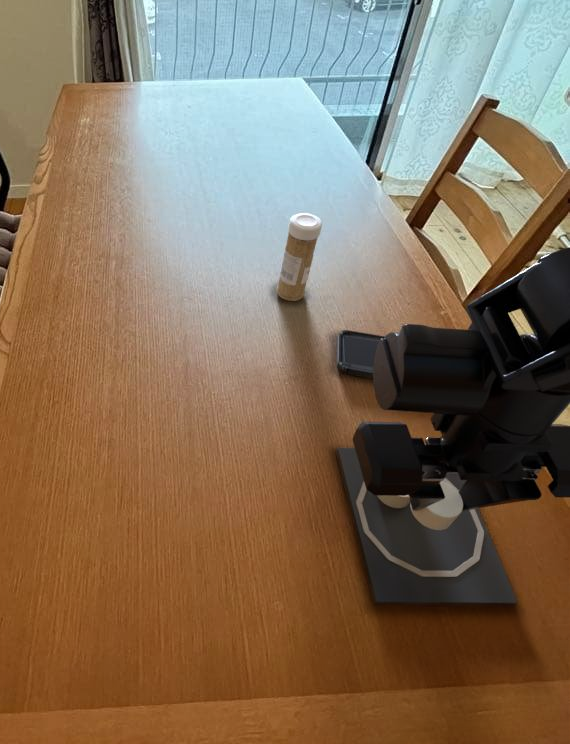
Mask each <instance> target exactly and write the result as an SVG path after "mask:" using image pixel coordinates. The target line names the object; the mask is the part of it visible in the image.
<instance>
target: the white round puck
mask: <svg viewBox="0 0 570 744" xmlns="http://www.w3.org/2000/svg"><path fill="white" fill-rule="evenodd" d="M377 496H378V498H379V499H380V500H381V501H382V502H383V503H384V504H386V505H388V506H390V507H393V508H403V507H406V506H407V505H408V504H409V503H410V496H409V495H406V496H387V495H377Z"/></svg>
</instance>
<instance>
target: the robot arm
mask: <svg viewBox="0 0 570 744" xmlns="http://www.w3.org/2000/svg"><path fill="white" fill-rule="evenodd" d="M465 310H466V312H467V315H468V318H469V319H470V321H471V323H470V324H469V326H468V328H467V329H460V328H446V327H445V328H443V327H432V326H428V325H424V324H414V323H405V324H402V326H401V328H400V330H399V332H395V331H393V332H392V331H391V332H390V331H389V333H387V334H385V335H384V336H385V338H384V339H380V342H379V344H378V347H377V350H376V354H375V359H374V367H373V379H372V384H373V392H374V396H375V397H374V398H375V400H376V403H377V405H378V406H379V408H380V409H382V410H383V411H395V412H409V413H410V412H411V413H424V414H432V416H431V418H430V422H431V425H432V428H433V430H434V431H435V432H440V434H441V436H440V437H433V436H432V437H430V436H429V437H427V438H426V439H425V440H424V438H423V437H412V435H411V433H410V430H409V427H408V425H407V423H404V422H401V421H361V423H360V424H359V425H358V426H357V428H356V429H355V431H354V434H353V437H352V438H351V439H352V442H353V446H354V447H353V448H355V450H356V454H357V458H358V461H359V465H360V468H361V472H362V476H363V479H364V483H365V486H366V489H367V490H368V491H369V492H371V493H372V494H374V495H387V496H406V495H409V496H410V503H411V506H412V509H413V511H417V510H420V509H423V508H425V507H428V506H430V505H432V504H434V503H436V502H438V501H440V500H442V499H444V498H445V495H444V492H443V490H442V487H441V485H440V482H441V481H443V480H444V479H445V477H446V475H459V477H460V479H461V480H466V482H465V483H464V485H463V486H462V487H461V489H460V490H459V492H458V493H459V494H460V496H461V498H462V501H463V510H462V511H466V510H471V509H477V508H478V509H483V508H487V507H494V506H498V505H499V506H500V505H505V504H514V503H520V502H527V501H537V500H539V499H541V497H542V492H541V490H540V488H539V485H538V484H537V482H536V480H537V479H538V478H539V476H538V475H537V474H539V473H540V472H541V471H542V470H543V468H546V470H547V472H548V474H549V476H550V477H551V479H552V481H551V482H550V483H549V484H547V488H548V490H549V492H550V493H551V495H553V496H554V498H570V425H567V424H563V423H555V422H556V421H557V419H558V418H559V417H560V416H561V415H562V414H563V413H564V412H565V410H566V409H567V408H568V406H569V405H570V247H566V248H565V247H564V248H562V249H559V250H556V251H552V252H550V253H548V254H546V255H544V256H542V257H540V258H538V260H537V262H536V263H534V264H532V265H531V266H530V267H528V268H526V269H524V270H523V271H521V272H519V273H518V274H515V275H514V276H512V277H511V278H509V279H508V280H506V281H505V282H503V283H501V284H499V285H498V286H496V287H495V288H493V289H491V290H490V291H488V292H486V293H485V294H483V295H481V296H480V297H478V298H476V299H475V300H473V301H471V302H469V303H468V304H466V306H465ZM518 310H520V311H521V313H522V315H523V317H524V318H525V321H526V322H527V324H528V325H529V327H530V329H531V331H532V333H533V334H531V333H522V334H520V333H519V331H518V329H517V328H516V325H515V323H514V322H513V320H512V318H511V316H510V314H509V313H512V312H516V311H518Z"/></svg>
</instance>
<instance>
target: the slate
mask: <svg viewBox="0 0 570 744" xmlns="http://www.w3.org/2000/svg"><path fill="white" fill-rule="evenodd" d="M335 455H336V458H337V462H338V466H339V467H338V468H339V471H340V475H341V478H342V482H343V487H344V490H345V494H346V499H347V502H348V506H349V510H350V515H351V518H352V522H353V527H354V530H355V534H356V537H357V544H358V547H359V551H360V555H361V559H362V562H363V566H364V571H365V574H366V575H365V576H366V579H367V583H368V586H369V591H370V595H371V599H372V602H373V606H403V607H405V606H407V607H408V606H409V607H411V606H413V607H502V608H503V607H508V608H509V607H515V606H517V605H518V604H519V602H518V600H517V599H518V598H517V597H516V594H515V592H514V590H513V587H512V585H511V583H510V580H509V578H508V575H507V573H506V571H505V569H504V566H503V564H502V561H501V558H500V557H499V554H498V552H497V549H496V548H495V545H494V542H493V541H492V538H491V535H490V533H489V531H488V529H487V527H486V524H485V521H484V519H483V517H482V514H481V512H480V510H479V508H477V509H471V510H466V511H462V512H461V513H460V515H459V516H458V517H457V518H456V520H455V521H454V522H453V523H452V524H451V526H450V527H448V528H447V529H444V530H434V529H430V528H428V527H426V526H424V525H422V524H421V523H420V522H419V521H418V520H417V519H416V518H415V517H414V515H413V513H412V511H411V506H410V504H411V503H409V504H408V505H407V506H406V507H403V508H393V507H390V506H388V505H386V504H384V503H383V502H382V501H381V500H380V499H379V498H378V496H377V495H374V494H372V493H371V492H369V491H368V490H367V489H366V486H365V483H364V479H363V476H362V472H361V468H360V465H359V461H358V458H357V454H356V450H355V447H337V449H336V450H335ZM443 482H446V483H448V484H449V485H451V486H452V487H453V488H455V489H456V490H457V491H458V492H459V490H460V489H461V487H462V486H463V485H464V483H465V482H466V480H461V479H460V477H459V475H446V477H445V479H444V480H443Z"/></svg>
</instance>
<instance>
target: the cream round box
mask: <svg viewBox="0 0 570 744" xmlns="http://www.w3.org/2000/svg"><path fill="white" fill-rule="evenodd" d="M440 485H441V487H442V490H443V492H444V495H445V498H444V499H442V500H440V501H438V502H436V503H434V504H432V505H430V506H428V507H425V508H423V509H420V510H417V511H413V509H412V506H411V504H410V506H411V511H412V513H413V515H414V517H415V518H416V519H417V520H418V521H419V522H420V523H421V524H422V525H424V526H426V527H428V528H430V529H434V530H444V529H447V528H448V527H450V526H451V524H452V523H453V522H454V521H455V520H456V518H457V517H458V516H459V515H460V513H461V512H462V510H463V501H462V498H461V496H460V494H459V493H458V491H457V490H456V489H455V488H453V487H452V486H451V485H449V484H448V483H446V482H443V481H441V482H440Z"/></svg>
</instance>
